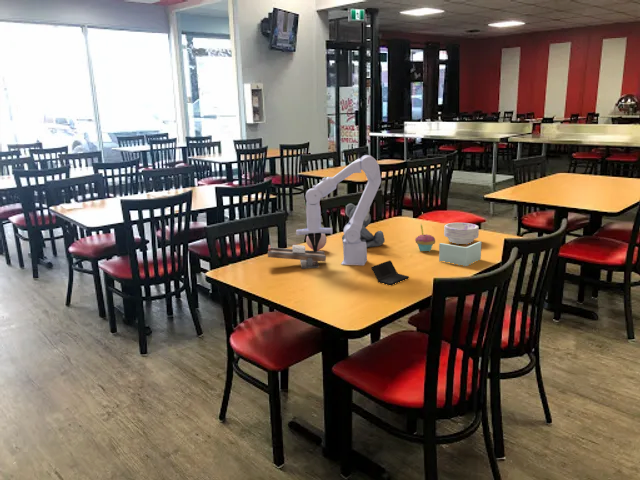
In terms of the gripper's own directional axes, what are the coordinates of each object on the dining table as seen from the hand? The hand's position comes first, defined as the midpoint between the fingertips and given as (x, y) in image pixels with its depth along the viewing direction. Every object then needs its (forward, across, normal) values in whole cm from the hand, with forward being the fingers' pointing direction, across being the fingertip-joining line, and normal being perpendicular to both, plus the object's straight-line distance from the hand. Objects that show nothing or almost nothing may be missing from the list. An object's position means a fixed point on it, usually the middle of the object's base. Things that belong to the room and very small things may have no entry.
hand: (315, 251), depth 210 cm
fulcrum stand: (+6, +2, 0) cm, 6 cm away
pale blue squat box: (+6, -58, +8) cm, 59 cm away
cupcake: (+6, -49, -10) cm, 50 cm away
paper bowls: (+6, -69, -20) cm, 72 cm away
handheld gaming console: (+6, -26, +25) cm, 36 cm away
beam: (+2, +8, 0) cm, 8 cm away
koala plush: (+6, -23, -26) cm, 35 cm away
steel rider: (+1, +7, 0) cm, 7 cm away
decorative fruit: (+6, -2, -20) cm, 20 cm away
